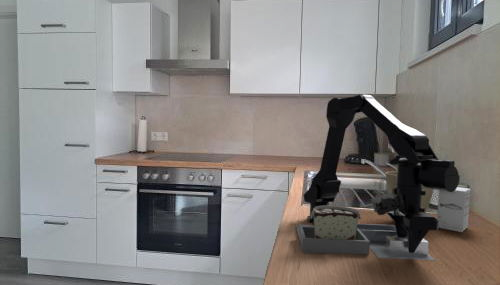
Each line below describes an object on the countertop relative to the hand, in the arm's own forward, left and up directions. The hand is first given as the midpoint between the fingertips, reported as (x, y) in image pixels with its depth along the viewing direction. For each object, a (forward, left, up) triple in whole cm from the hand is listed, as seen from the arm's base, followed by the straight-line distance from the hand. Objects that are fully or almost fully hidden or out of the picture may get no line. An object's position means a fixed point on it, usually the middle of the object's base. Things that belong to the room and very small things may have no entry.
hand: (406, 247), depth 85 cm
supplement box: (-24, +24, -2) cm, 34 cm away
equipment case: (-8, -18, -1) cm, 19 cm away
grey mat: (0, -1, -1) cm, 2 cm away
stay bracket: (-9, -3, -1) cm, 10 cm away
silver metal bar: (0, 0, -1) cm, 1 cm away
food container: (-3, -17, -2) cm, 18 cm away
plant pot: (-28, +12, -2) cm, 31 cm away
